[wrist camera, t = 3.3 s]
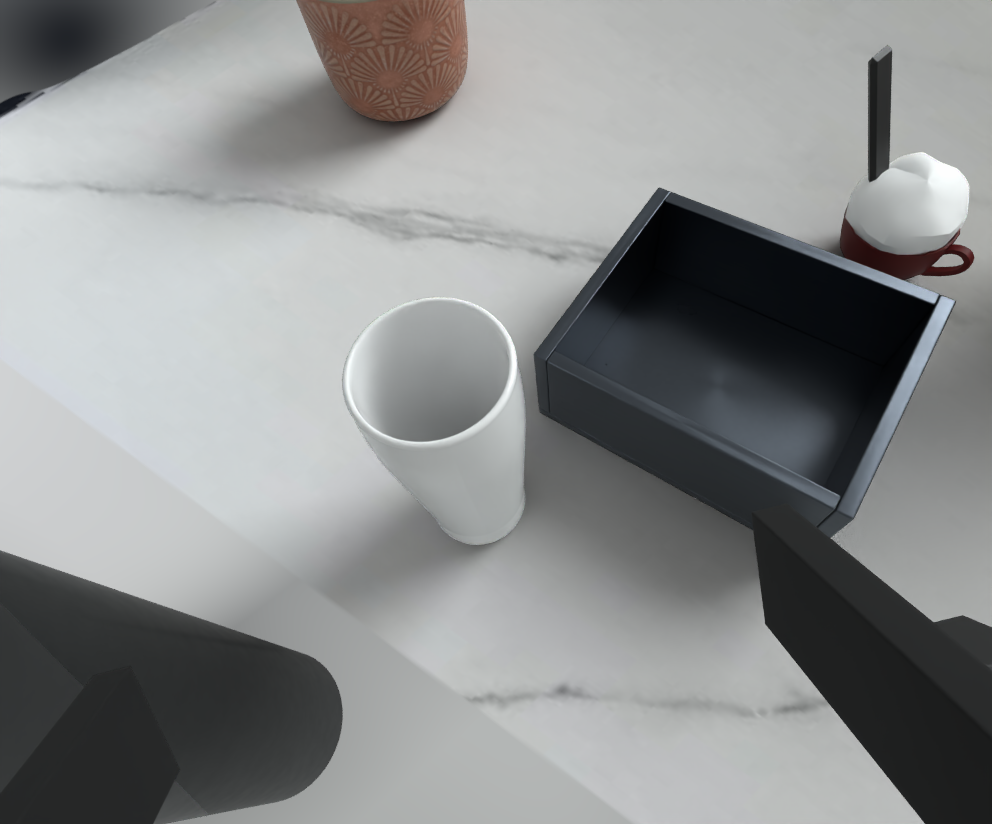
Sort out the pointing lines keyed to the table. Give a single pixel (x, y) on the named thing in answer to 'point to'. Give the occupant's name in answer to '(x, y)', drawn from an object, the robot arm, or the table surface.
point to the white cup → (444, 412)
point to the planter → (390, 52)
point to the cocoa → (902, 199)
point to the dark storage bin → (740, 362)
